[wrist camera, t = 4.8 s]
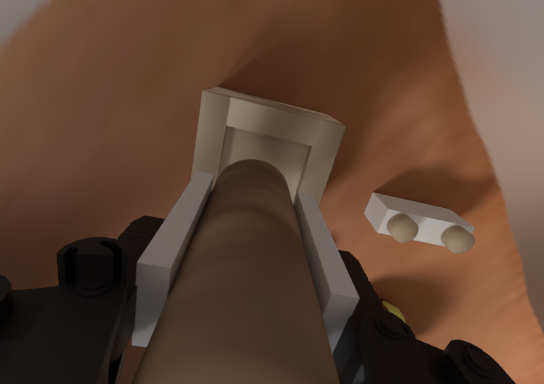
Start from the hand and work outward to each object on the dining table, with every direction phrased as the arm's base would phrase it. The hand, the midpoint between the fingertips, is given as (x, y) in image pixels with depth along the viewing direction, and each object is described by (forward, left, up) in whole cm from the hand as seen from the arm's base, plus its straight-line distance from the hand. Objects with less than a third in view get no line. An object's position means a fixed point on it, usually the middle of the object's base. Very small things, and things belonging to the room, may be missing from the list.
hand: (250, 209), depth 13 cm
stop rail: (+13, -2, -9) cm, 16 cm away
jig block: (0, 0, -9) cm, 9 cm away
